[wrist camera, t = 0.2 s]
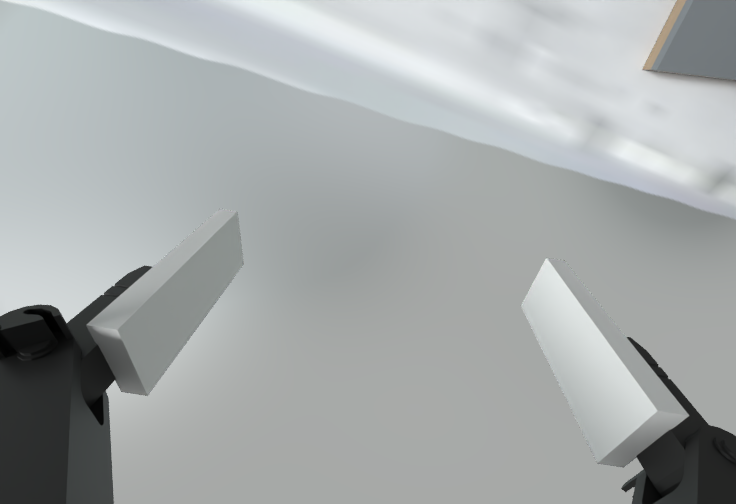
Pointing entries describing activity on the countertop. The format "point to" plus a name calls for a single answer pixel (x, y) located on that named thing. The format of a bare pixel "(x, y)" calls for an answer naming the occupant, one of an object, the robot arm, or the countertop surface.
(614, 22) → the countertop surface
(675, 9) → the trivet
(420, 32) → the countertop surface
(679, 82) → the countertop surface
